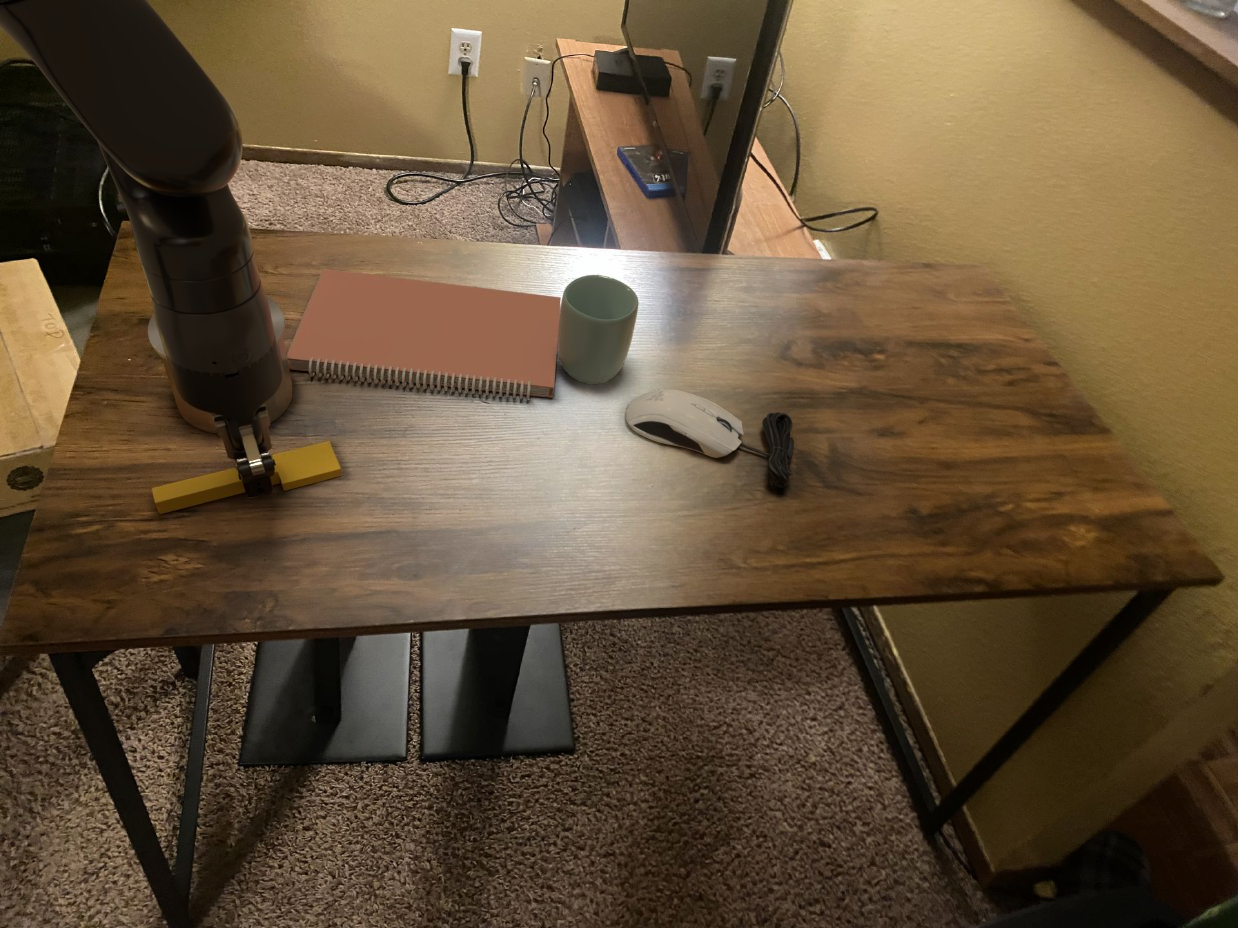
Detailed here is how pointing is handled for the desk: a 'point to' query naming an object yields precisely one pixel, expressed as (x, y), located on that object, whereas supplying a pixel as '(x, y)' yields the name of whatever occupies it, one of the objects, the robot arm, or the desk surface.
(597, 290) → the cup
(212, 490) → the stepped yellow stick
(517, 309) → the notebook
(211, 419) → the pot
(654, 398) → the computer mouse
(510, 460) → the desk surface
